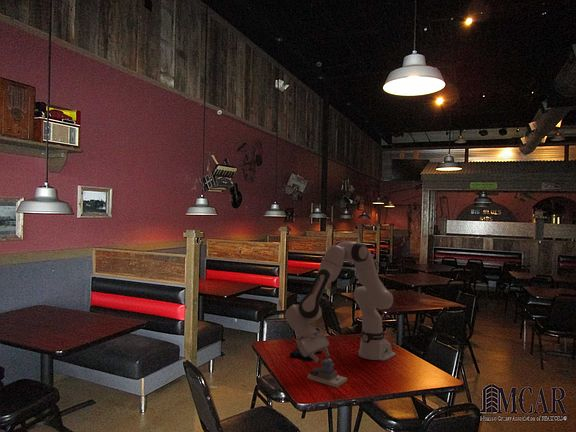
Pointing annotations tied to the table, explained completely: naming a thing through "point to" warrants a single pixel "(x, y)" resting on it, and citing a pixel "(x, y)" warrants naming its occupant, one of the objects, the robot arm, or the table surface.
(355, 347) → the table surface
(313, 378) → the chassis
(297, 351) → the gun
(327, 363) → the block
